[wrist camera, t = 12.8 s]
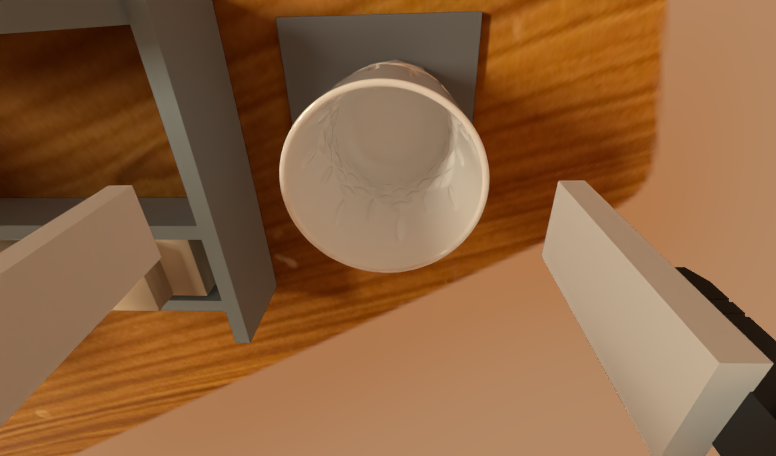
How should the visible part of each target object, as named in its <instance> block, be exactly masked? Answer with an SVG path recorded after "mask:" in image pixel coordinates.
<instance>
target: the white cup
mask: <svg viewBox="0 0 776 456" xmlns="http://www.w3.org/2000/svg"><path fill="white" fill-rule="evenodd" d="M279 179H280V188H281V193H282V197H283V200H284V203H285V206H286V209H287V211H288V213H289V215H290V217H291V219H292V220H293V222H294V224H295V225H296V227H297V228H298V229H299V231H300V232H301V233H302V234H303V236H304V237H305V238H306V239H307V240H308V241H309V242H310V243H311V244H312V245H314V246H315V247H316V248H317V249H318V250H320V251H321V252H323V253H324V254H326V255H327V256H329V257H330V258H332V259H334V260H336V261H338V262H340V263H342V264H345V265H347V266H350V267H353V268H357V269H361V270H365V271H371V272H381V273H393V272H403V271H409V270H414V269H418V268H421V267H424V266H427V265H429V264H432V263H434V262H436V261H438V260H440V259H442V258H443V257H445V256H446V255H448V254H449V253H451V252H452V251H453V250H455V249H456V248H457V247H458V246H459V245H460V244H462V243H463V242H464V240H465V239H466V238H467V237H468V236H469V235H470V233H471V232H472V231H473V229H474V228H475V226H476V225H477V223H478V221H479V219H480V217H481V215H482V213H483V211H484V208H485V205H486V201H487V197H488V192H489V181H490V176H489V165H488V159H487V155H486V152H485V148H484V146H483V143H482V141H481V139H480V137H479V135H478V133H477V131H476V129H475V128H474V126H473V125H472V123H471V122H470V121H469V119H468V118H467V117H466V115H465V114H464V112H463V111H462V110H461V108H460V107H459V105H458V104H457V103H456V101H455V100H454V98H453V97H452V96H451V94H450V93H449V92H448V91H447V90H446V88H445V87H444V86H443V85H442V84H441V83H440V82H439V81H438V80H437V79H436V78H434V77H433V76H432V75H430V74H429V73H428V72H427V71H426V70H425V69H424V68H423V67H420V66H417V65H414V64H410V63H407V62H404V61H401V60H398V59H395V60H389V61H384V62H379V63H373V64H369V65H368V66H367V67H364V68H362V69H360V70H358V71H356V72H355V73H353V74H351V75H350V76H348V77H346V78H345V79H343V80H342V81H340V82H339V83H338V84H336V85H335V86H334V87H333V88H332V89H330V90H329V91H327V92H326V93H325V94H324V95H322V96H321V97H319V98H318V99H317V100H315V101H314V102H313V103H312V104H311V105H309V106H308V107H307V108H306V109H305V110H304V111H303V113H302V114H301V115H300V116H299V117H298V119H297V120H296V121H295V123H294V124H293V126H292V128H291V129H290V131H289V133H288V135H287V138H286V140H285V143H284V146H283V149H282V153H281V158H280V166H279Z"/></svg>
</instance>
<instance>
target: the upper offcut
mask: <svg viewBox="0 0 776 456" xmlns="http://www.w3.org/2000/svg"><path fill="white" fill-rule="evenodd" d="M18 241H20V240H0V252H2V251H4V250H5V249H7V248H9V247H10V246H12V245H13V244H15V243H17V242H18ZM173 294H174V293H173V291H172V289H171V286H170V284H169V281H168V279H167V276H166V274H165V272H164V269H163V267H162V264H161V262H160V260H159V261H158V262H157V263H156V264H155V265H154V266H153V267H152V268H151V269H150V270H149V271H148V272H147V273H146V274H145V275H144V276H143V277H142V279H141V280H140V281H139V282H138V283H137V284H136V285H135V286H134V287H133V288H132V289H131V290H130V291H129V292H128V293H127V294H126V295H125V296H124V298H123V299H122V300H121V301H120V302H119V303H118V304H117V305H116V306H115V307H114V308H113V309H112V310H132V311H160V310H161V309H162V307H163V306H164V305H165V304H166V302H167V301H168V300H169V299H170V298H171V296H172V295H173Z"/></svg>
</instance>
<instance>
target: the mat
mask: <svg viewBox="0 0 776 456" xmlns="http://www.w3.org/2000/svg"><path fill="white" fill-rule="evenodd" d="M481 22H482V11H477V12H442V13H408V14H373V15H338V16H304V17H276V23H277V30H278V36H279V43H280V49H281V55H282V62H283V68H284V75H285V81H286V87H287V94H288V100H289V107H290V113H291V119H292V126H293V124H294V123H295V121H296V120H297V119H298V117H299V116H300V115H301V114H302V113H303V111H304V110H305V109H306V108H307V107H308V106H309V105H311V104H312V103H313V102H314V101H315V100H317V99H318V98H319V97H321V96H322V95H324V94H325V93H326V92H327V91H329V90H330V89H332V88H333V87H334V86H335V85H336V84H338V83H339V82H340V81H342V80H343V79H345V78H346V77H348V76H350V75H351V74H353V73H355V72H356V71H358V70H360V69H362V68H364V67H367V66H368V65H369V64H373V63H379V62H384V61H389V60H395V59H398V60H401V61H404V62H407V63H410V64H414V65H417V66H420V67H423V68H424V69H425V70H426V71H427V72H428V73H429V74H430V75H432V76H433V77H434V78H436V79H437V80H438V81H439V82H440V83H441V84H442V85H443V86H444V87H445V88H446V90H447V91H448V92H449V93H450V94H451V96H452V97H453V98H454V100H455V101H456V103H457V104H458V105H459V107H460V108H461V110H462V111H463V112H464V114H465V115H466V117H467V118H468V119H469V121H470V122H471V123H473V111H474V100H475V89H476V78H477V67H478V55H479V44H480V33H481Z"/></svg>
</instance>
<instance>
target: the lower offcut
mask: <svg viewBox="0 0 776 456" xmlns="http://www.w3.org/2000/svg"><path fill="white" fill-rule="evenodd" d="M0 240H21V239H0ZM155 242H156V245H157V247H158V250H159V252H160V255H161V258H160V262H161V264H162V267H163V269H164V272H165V274H166V276H167V279H168V281H169V284H170V286H171V289H172V291H173V293H174V294H173V295H191V296H207V295H208V294H209V293H210V291H211V290H212V288H213V287H214V285H215V284H216V282H215V279H214V276H213V273H212V270H211V267H210V264H209V261H208V258H207V255H206V252H205V249H204V246H203V242H202V240H155Z"/></svg>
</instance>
